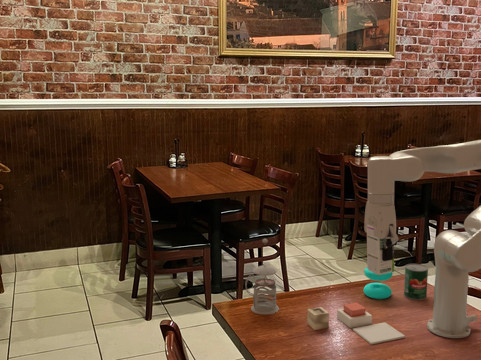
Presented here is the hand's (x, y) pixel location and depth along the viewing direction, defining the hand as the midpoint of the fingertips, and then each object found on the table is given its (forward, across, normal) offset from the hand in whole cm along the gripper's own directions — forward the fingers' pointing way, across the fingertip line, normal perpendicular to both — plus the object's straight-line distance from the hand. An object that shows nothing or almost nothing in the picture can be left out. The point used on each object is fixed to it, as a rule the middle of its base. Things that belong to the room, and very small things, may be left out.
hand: (380, 256), depth 157 cm
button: (+23, -11, -2) cm, 25 cm away
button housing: (+25, -11, -2) cm, 27 cm away
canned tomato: (+26, -21, +30) cm, 44 cm away
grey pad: (+25, 0, 0) cm, 25 cm away
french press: (+24, -31, -26) cm, 47 cm away
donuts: (+26, -27, +18) cm, 41 cm away
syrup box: (+5, 0, 0) cm, 5 cm away
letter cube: (+24, -12, -15) cm, 31 cm away
